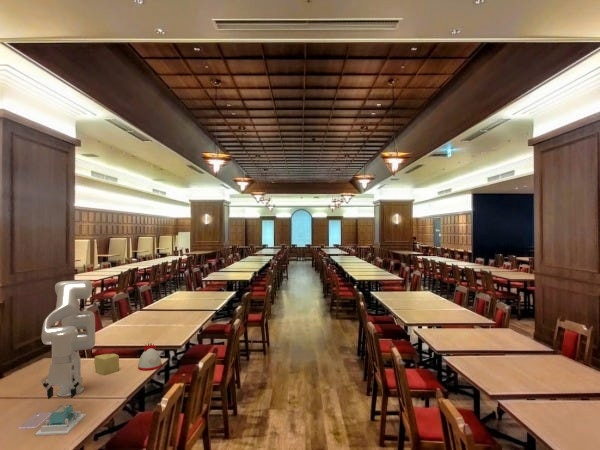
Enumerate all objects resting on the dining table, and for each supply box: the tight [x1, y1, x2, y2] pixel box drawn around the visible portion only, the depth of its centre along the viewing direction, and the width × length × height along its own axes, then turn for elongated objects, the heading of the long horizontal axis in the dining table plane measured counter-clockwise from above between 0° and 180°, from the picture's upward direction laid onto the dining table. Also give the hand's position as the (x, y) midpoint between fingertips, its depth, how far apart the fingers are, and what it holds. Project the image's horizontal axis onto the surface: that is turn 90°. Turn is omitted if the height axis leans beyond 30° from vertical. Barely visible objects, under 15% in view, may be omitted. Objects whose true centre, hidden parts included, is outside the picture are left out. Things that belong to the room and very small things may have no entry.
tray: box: [34, 409, 87, 437], centre depth 182 cm, size 18×13×4 cm
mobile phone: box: [18, 411, 53, 430], centre depth 187 cm, size 8×1×15 cm
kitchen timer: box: [137, 343, 162, 372], centre depth 260 cm, size 14×14×15 cm
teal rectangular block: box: [49, 404, 74, 425], centre depth 182 cm, size 10×5×6 cm, turn 6°
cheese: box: [94, 353, 120, 376], centre depth 252 cm, size 10×11×10 cm
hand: (61, 397), depth 183 cm, fingers open, 9 cm apart
